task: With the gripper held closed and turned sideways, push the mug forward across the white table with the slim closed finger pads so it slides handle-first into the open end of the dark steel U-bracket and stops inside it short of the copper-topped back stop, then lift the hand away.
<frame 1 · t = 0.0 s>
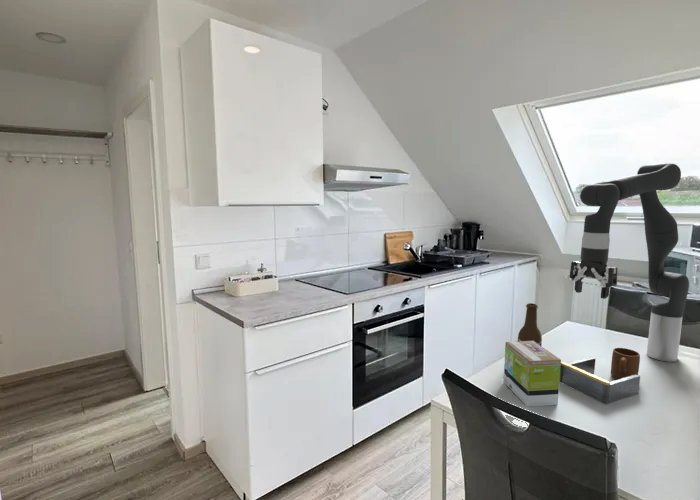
hand: (590, 295, 125), 29 cm above the table, fingers open, 8 cm apart
mug: (622, 380, 128), on the table
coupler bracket: (597, 387, 123), on the table
beer bottle: (527, 369, 137), on the table
tea box: (528, 394, 119), on the table
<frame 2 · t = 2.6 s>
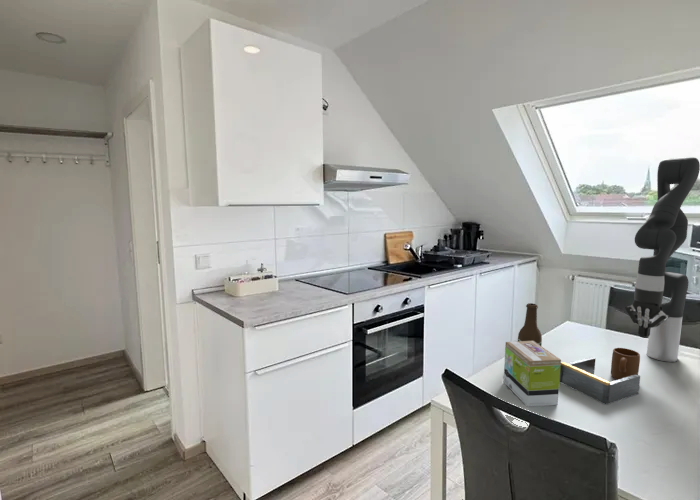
hand: (643, 337, 130), 14 cm above the table, fingers closed
nothing on the table moved.
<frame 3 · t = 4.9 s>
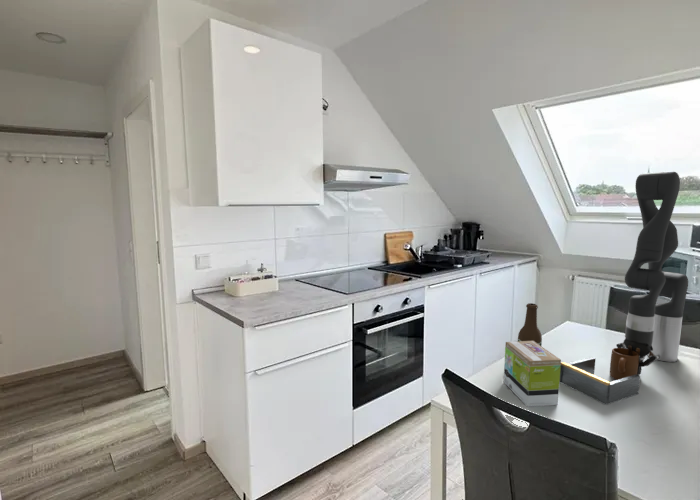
hand: (634, 375, 131), 1 cm above the table, fingers closed
mug: (621, 380, 128), on the table, touching gripper, hand
everything else where it was.
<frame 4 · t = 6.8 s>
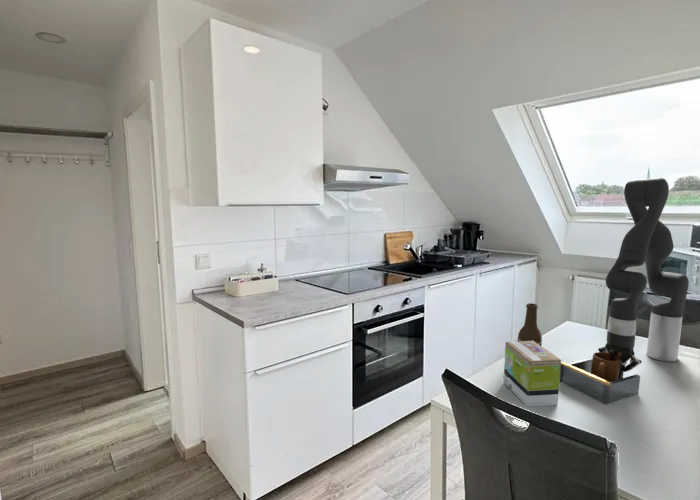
hand: (616, 380, 127), 1 cm above the table, fingers closed
mug: (602, 386, 124), on the table, touching gripper, hand
everything else where it was.
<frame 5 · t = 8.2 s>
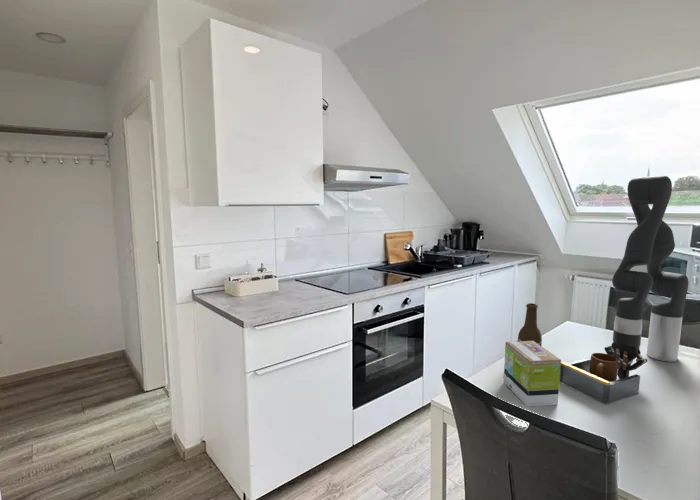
hand: (622, 379, 128), 0 cm above the table, fingers closed
mug: (600, 387, 124), on the table
everything else where it was.
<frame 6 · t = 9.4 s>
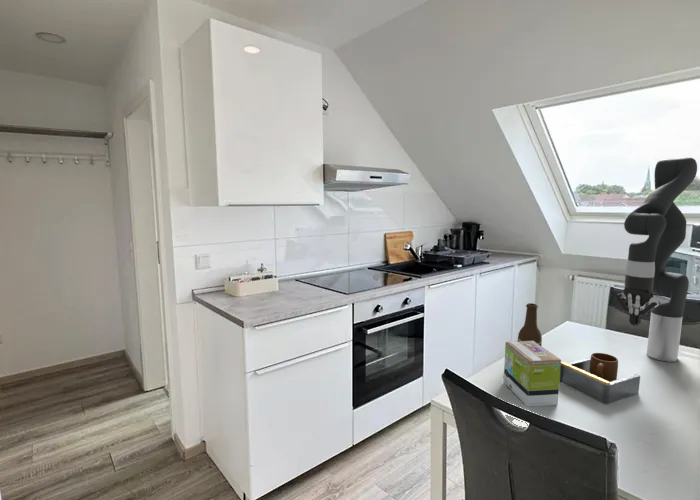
hand: (634, 324, 127), 19 cm above the table, fingers closed
nothing on the table moved.
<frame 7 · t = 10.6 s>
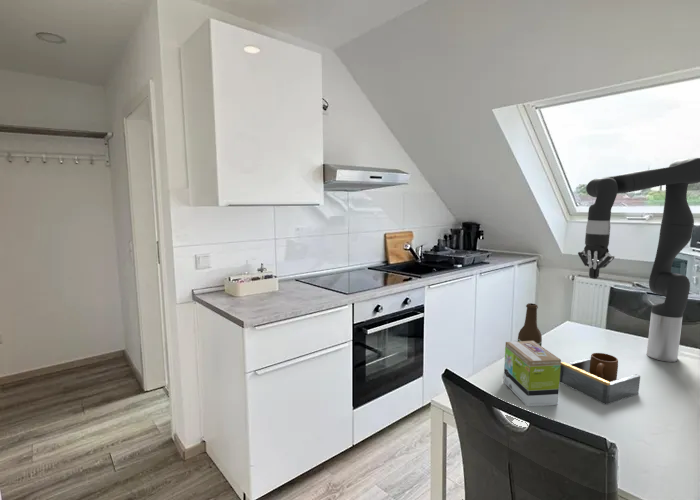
hand: (593, 278, 143), 31 cm above the table, fingers closed
nothing on the table moved.
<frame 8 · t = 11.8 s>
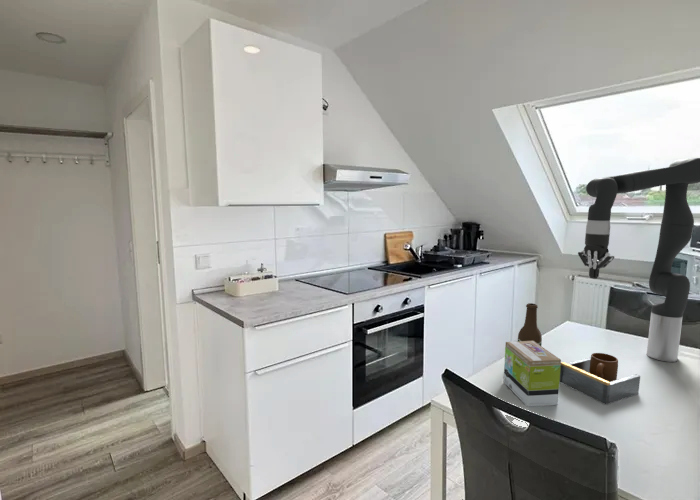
hand: (593, 278, 143), 31 cm above the table, fingers closed
nothing on the table moved.
at the end: mug inside the target area (1.6 cm from its centre), on the table; mug tilted 0° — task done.
